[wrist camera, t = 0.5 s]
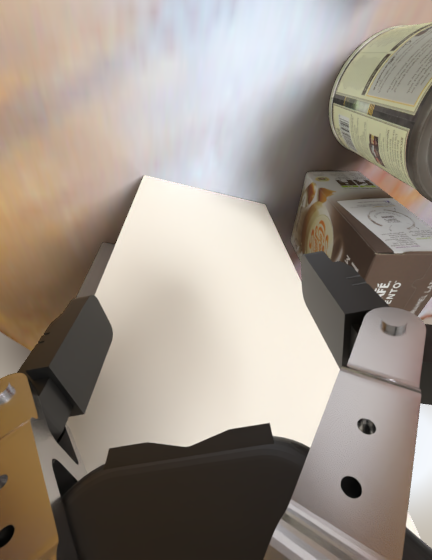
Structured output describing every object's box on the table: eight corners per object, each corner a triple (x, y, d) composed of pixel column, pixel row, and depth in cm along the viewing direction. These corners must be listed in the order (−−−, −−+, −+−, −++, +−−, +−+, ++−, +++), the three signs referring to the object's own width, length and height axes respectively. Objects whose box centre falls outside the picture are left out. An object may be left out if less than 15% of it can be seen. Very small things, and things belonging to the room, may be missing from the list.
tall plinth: (144, 175, 30) (-83, 726, 6) (264, 204, 33) (473, 651, 8) (136, 245, 36) (2, 687, 11) (240, 264, 39) (325, 649, 14)
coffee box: (303, 170, 31) (377, 249, 19) (360, 170, 32) (468, 248, 19) (288, 242, 37) (336, 339, 24) (336, 242, 37) (408, 337, 25)
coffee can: (462, 72, 26) (653, 86, 15) (373, 170, 32) (469, 233, 21) (392, -10, 23) (579, -68, 12) (305, 117, 28) (377, 159, 17)
